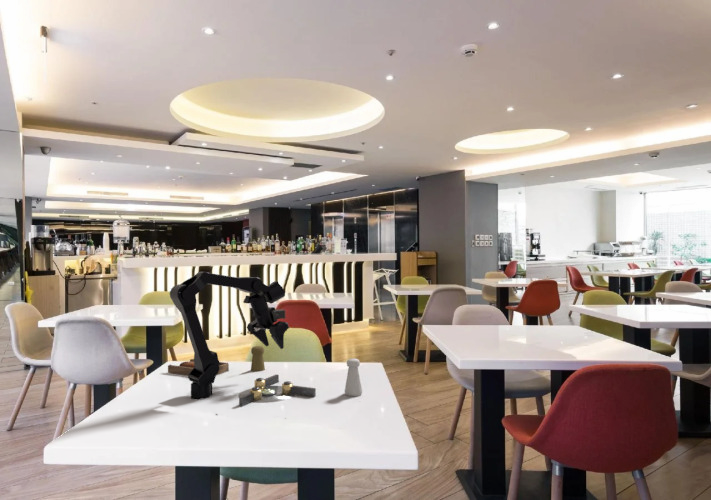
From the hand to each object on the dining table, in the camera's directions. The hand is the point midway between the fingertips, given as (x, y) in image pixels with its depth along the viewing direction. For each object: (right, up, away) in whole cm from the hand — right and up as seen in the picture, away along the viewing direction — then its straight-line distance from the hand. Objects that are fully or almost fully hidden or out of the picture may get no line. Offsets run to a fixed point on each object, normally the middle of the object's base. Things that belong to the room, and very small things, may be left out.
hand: (274, 347), depth 170 cm
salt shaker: (+29, -13, -18) cm, 37 cm away
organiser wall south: (-26, -14, +16) cm, 33 cm away
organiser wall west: (-38, -14, +15) cm, 43 cm away
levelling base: (0, -13, -19) cm, 23 cm away
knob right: (+11, -12, -18) cm, 25 cm away
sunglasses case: (-35, -15, +21) cm, 43 cm away
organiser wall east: (-33, -15, +26) cm, 44 cm away
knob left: (-1, -12, -8) cm, 15 cm away
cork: (-10, -14, +16) cm, 24 cm away
